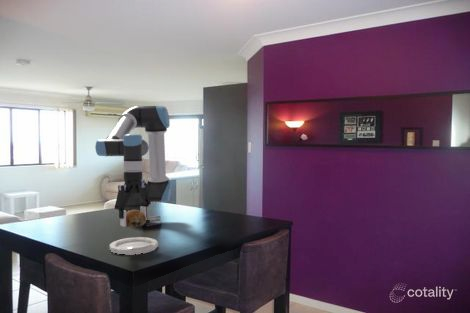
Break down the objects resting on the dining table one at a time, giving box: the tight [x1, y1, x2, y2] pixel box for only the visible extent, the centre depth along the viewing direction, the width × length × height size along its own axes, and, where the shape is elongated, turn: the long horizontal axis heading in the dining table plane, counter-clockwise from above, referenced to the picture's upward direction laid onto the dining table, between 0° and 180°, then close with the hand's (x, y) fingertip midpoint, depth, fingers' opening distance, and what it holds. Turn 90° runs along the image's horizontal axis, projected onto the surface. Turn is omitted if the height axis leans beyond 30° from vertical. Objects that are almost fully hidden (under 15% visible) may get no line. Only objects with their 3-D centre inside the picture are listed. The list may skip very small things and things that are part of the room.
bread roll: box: [126, 210, 147, 228], centre depth 154 cm, size 10×10×8 cm
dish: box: [109, 236, 159, 256], centre depth 155 cm, size 19×19×2 cm
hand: (133, 223), depth 154 cm, fingers closed on bread roll, 10 cm apart
